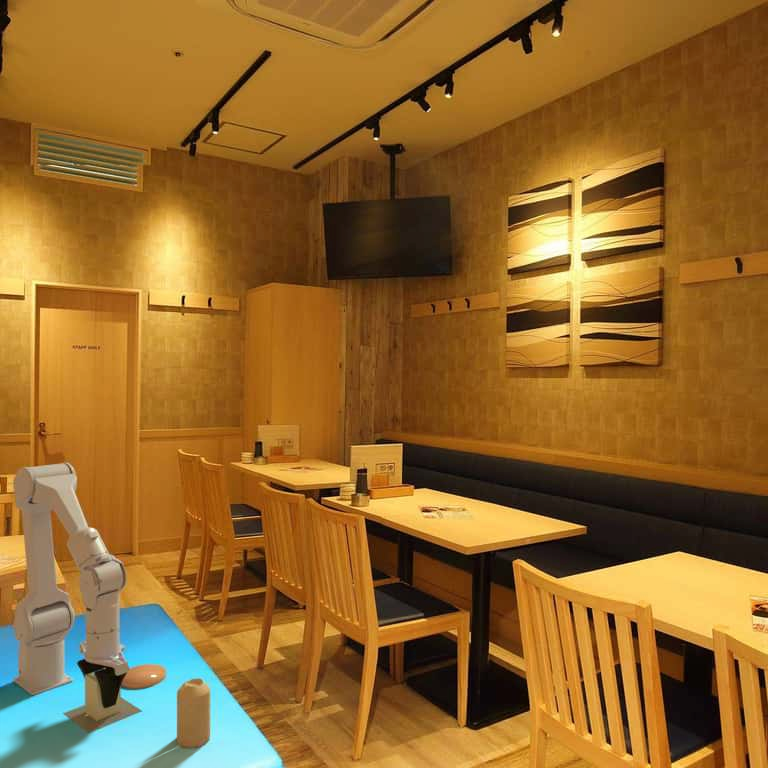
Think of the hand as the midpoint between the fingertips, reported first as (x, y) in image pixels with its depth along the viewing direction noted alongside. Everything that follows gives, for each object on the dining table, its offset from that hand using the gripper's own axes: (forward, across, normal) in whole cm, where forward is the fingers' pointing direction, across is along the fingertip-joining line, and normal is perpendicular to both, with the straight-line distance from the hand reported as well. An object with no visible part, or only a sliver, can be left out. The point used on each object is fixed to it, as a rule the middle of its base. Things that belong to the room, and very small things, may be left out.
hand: (102, 701), depth 124 cm
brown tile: (+2, 0, 0) cm, 2 cm away
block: (+2, 0, 0) cm, 2 cm away
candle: (+2, -20, -6) cm, 21 cm away
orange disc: (+2, +7, -12) cm, 14 cm away
